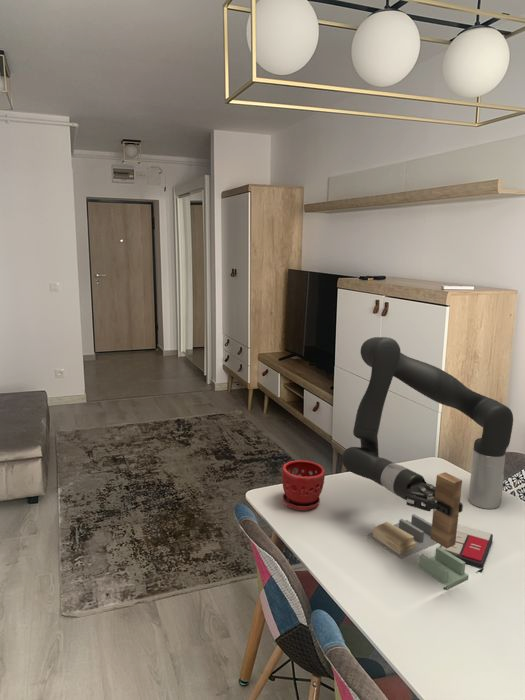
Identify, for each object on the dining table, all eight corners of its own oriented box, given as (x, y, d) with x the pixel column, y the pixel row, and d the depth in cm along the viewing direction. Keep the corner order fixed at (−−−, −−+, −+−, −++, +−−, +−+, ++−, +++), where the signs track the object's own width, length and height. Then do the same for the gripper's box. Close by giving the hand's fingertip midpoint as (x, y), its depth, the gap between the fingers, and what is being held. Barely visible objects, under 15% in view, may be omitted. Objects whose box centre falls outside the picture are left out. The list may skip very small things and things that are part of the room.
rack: (406, 523, 158) (407, 510, 157) (442, 544, 147) (444, 530, 147) (365, 539, 150) (366, 525, 149) (401, 562, 139) (402, 548, 138)
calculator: (438, 547, 140) (451, 520, 153) (436, 562, 141) (450, 533, 154) (483, 561, 135) (493, 531, 147) (481, 576, 136) (492, 545, 148)
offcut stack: (388, 530, 152) (389, 520, 151) (415, 547, 144) (416, 537, 143) (372, 536, 149) (372, 526, 148) (399, 554, 140) (399, 544, 140)
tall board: (438, 535, 136) (445, 472, 132) (455, 544, 132) (462, 480, 128) (430, 538, 134) (436, 474, 131) (446, 548, 130) (453, 483, 126)
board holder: (435, 559, 141) (436, 544, 140) (468, 579, 133) (469, 564, 132) (414, 568, 137) (415, 553, 136) (446, 590, 128) (448, 574, 128)
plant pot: (302, 518, 160) (303, 481, 158) (272, 502, 170) (273, 466, 167) (332, 504, 169) (333, 469, 166) (302, 489, 178) (303, 455, 176)
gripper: (384, 474, 138) (438, 503, 124) (422, 463, 145) (477, 489, 131) (382, 501, 140) (435, 532, 125) (419, 489, 147) (474, 517, 133)
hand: (456, 510), depth 128 cm, fingers closed on tall board, 3 cm apart
